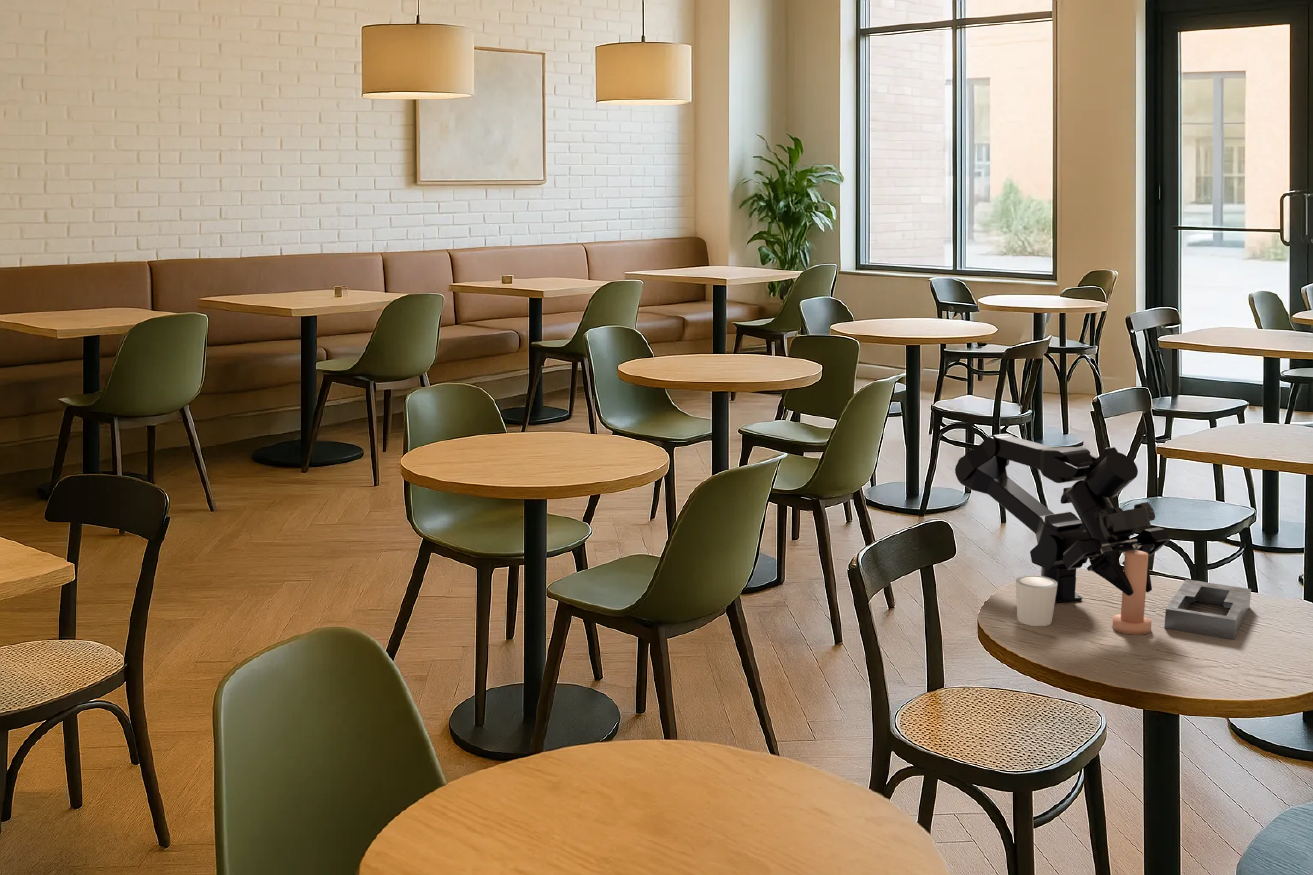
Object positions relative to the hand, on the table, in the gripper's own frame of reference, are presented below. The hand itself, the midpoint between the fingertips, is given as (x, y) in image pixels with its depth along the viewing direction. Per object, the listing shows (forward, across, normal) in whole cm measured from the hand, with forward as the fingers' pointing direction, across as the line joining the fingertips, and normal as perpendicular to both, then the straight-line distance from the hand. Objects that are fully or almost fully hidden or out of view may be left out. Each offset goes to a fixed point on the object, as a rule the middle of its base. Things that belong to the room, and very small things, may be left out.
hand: (1140, 592), depth 202 cm
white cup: (-3, -12, +13) cm, 18 cm away
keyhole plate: (+5, +16, +5) cm, 17 cm away
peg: (+4, 0, +6) cm, 7 cm away
